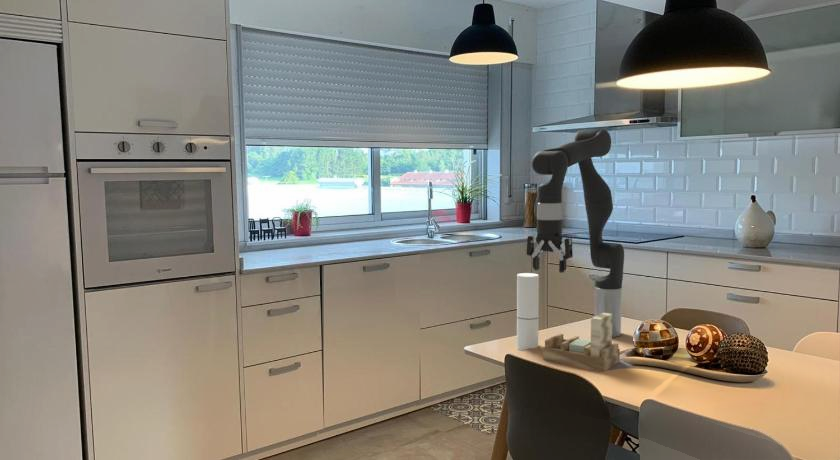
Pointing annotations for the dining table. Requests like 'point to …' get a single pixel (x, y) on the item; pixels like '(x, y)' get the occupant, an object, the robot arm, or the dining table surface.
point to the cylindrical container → (527, 310)
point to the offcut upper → (579, 345)
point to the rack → (579, 354)
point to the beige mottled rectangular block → (601, 333)
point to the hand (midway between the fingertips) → (549, 271)
